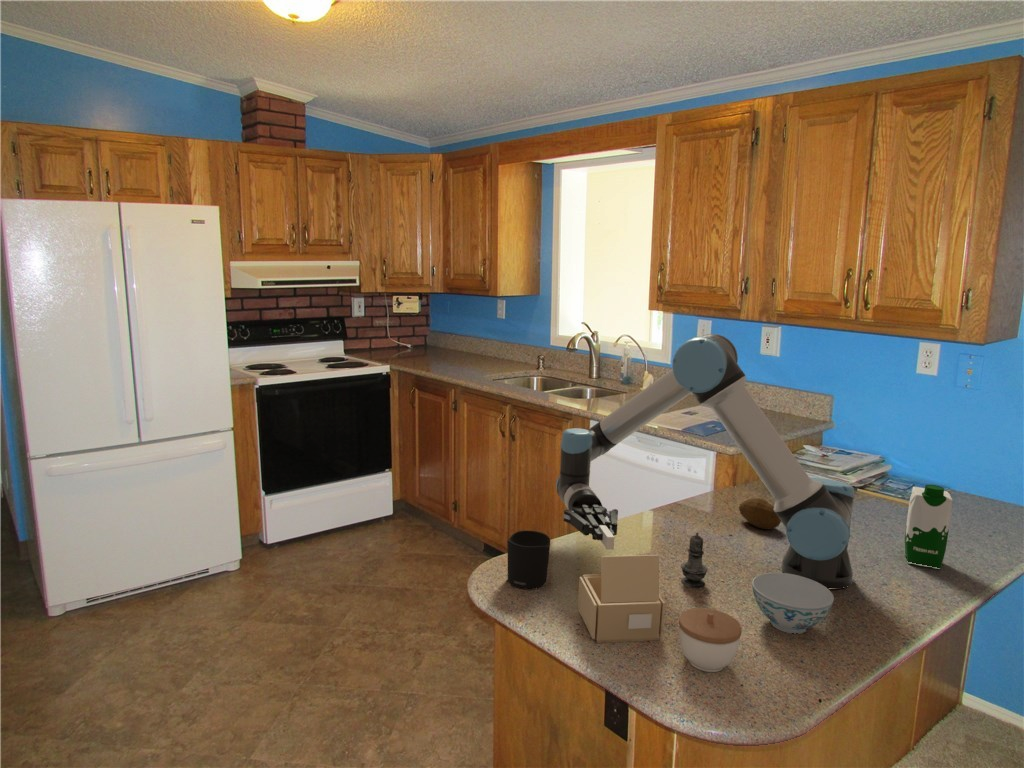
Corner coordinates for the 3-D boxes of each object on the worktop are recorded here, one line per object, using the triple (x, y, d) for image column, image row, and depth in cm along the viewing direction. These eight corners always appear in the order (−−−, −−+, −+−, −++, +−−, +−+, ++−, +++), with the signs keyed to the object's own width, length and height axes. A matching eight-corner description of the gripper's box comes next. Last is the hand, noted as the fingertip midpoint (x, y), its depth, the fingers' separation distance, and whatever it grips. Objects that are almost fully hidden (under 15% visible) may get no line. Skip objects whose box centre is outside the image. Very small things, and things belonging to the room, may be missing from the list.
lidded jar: (671, 671, 119) (675, 621, 117) (679, 641, 129) (683, 594, 127) (736, 686, 115) (741, 635, 113) (739, 654, 125) (743, 606, 123)
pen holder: (498, 576, 153) (500, 534, 151) (534, 568, 157) (536, 527, 156) (519, 594, 145) (521, 550, 143) (556, 585, 149) (558, 542, 148)
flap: (658, 600, 128) (657, 554, 128) (659, 600, 127) (658, 555, 127) (601, 602, 126) (601, 556, 126) (601, 602, 125) (601, 556, 126)
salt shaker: (692, 590, 149) (696, 538, 147) (674, 579, 155) (678, 529, 153) (712, 585, 152) (716, 534, 150) (693, 575, 157) (698, 525, 155)
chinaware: (741, 604, 144) (744, 569, 143) (814, 610, 143) (818, 575, 141) (759, 641, 129) (763, 603, 128) (841, 648, 128) (845, 610, 127)
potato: (773, 536, 183) (776, 508, 182) (730, 523, 192) (732, 496, 190) (786, 528, 189) (788, 502, 187) (743, 516, 197) (746, 490, 196)
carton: (640, 607, 141) (643, 573, 140) (663, 641, 128) (666, 604, 127) (576, 609, 139) (578, 574, 138) (593, 644, 126) (595, 606, 125)
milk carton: (903, 564, 167) (914, 486, 164) (900, 551, 175) (910, 477, 172) (945, 572, 164) (957, 492, 160) (940, 558, 172) (951, 482, 169)
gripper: (608, 518, 164) (639, 559, 141) (555, 519, 162) (578, 561, 139) (610, 488, 163) (642, 525, 140) (557, 489, 161) (580, 526, 138)
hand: (610, 543), depth 139 cm, fingers closed
